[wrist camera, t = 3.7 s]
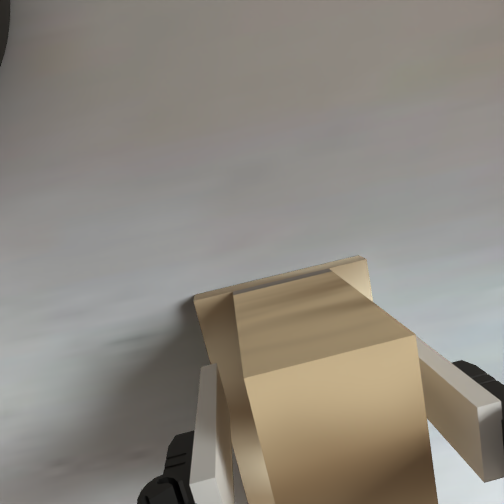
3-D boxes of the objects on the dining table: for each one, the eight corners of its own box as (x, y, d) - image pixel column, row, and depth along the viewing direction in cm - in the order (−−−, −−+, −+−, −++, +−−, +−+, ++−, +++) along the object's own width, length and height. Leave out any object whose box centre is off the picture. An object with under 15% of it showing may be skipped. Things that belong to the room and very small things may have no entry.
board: (194, 295, 18) (193, 301, 17) (358, 255, 19) (366, 259, 18) (290, 651, 24) (293, 671, 23) (416, 614, 24) (425, 632, 23)
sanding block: (232, 291, 17) (243, 378, 10) (328, 268, 18) (415, 334, 10) (265, 427, 19) (298, 596, 11) (353, 404, 19) (444, 554, 12)
